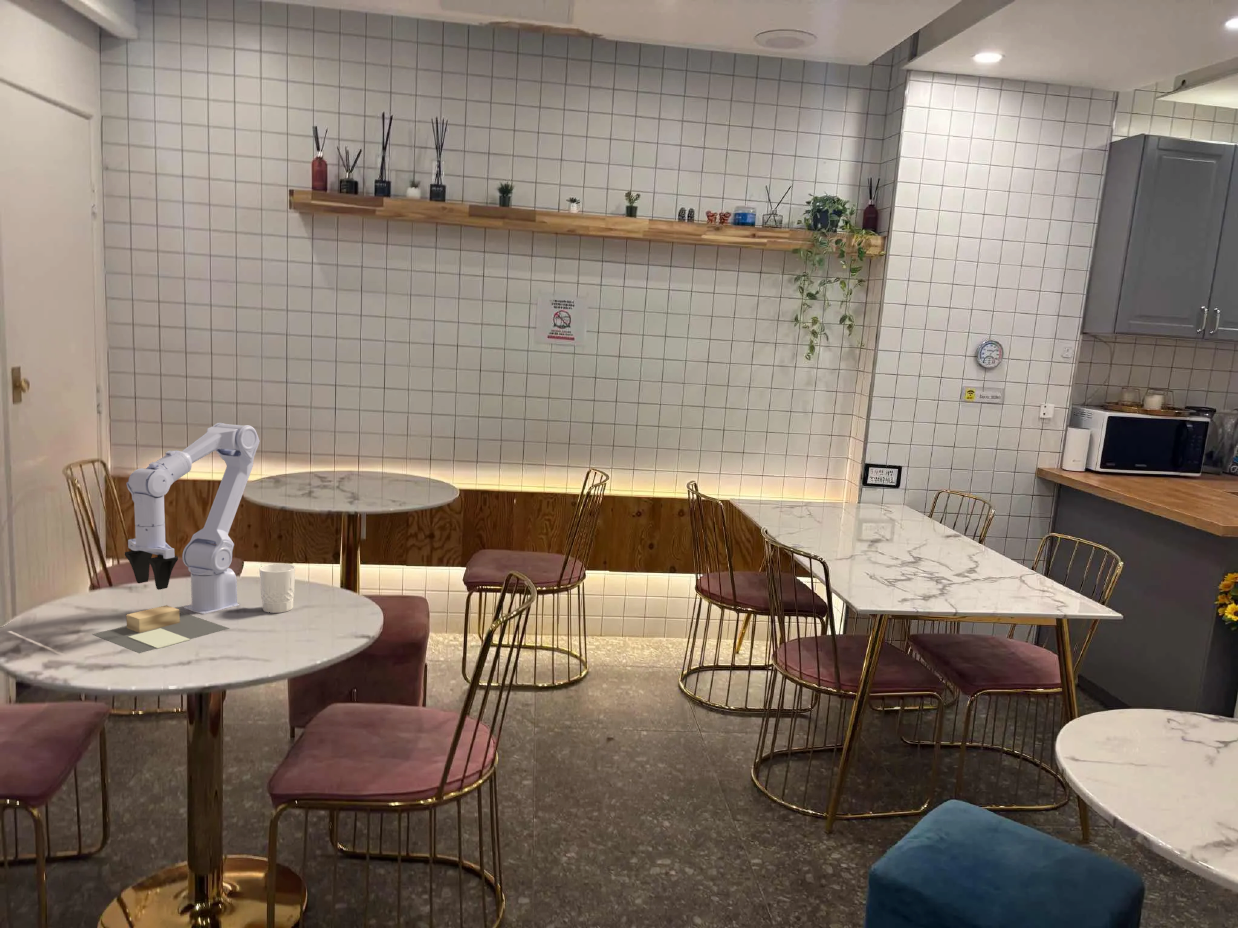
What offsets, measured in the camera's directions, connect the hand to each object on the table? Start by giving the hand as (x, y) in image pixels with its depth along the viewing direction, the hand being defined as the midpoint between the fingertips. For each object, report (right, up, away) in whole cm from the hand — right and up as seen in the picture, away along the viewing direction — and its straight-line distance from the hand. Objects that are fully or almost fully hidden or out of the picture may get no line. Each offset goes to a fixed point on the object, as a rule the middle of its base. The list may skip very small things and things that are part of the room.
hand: (152, 585), depth 197 cm
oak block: (0, -9, +1) cm, 9 cm away
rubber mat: (+3, -10, -2) cm, 11 cm away
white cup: (+21, -8, +17) cm, 28 cm away
